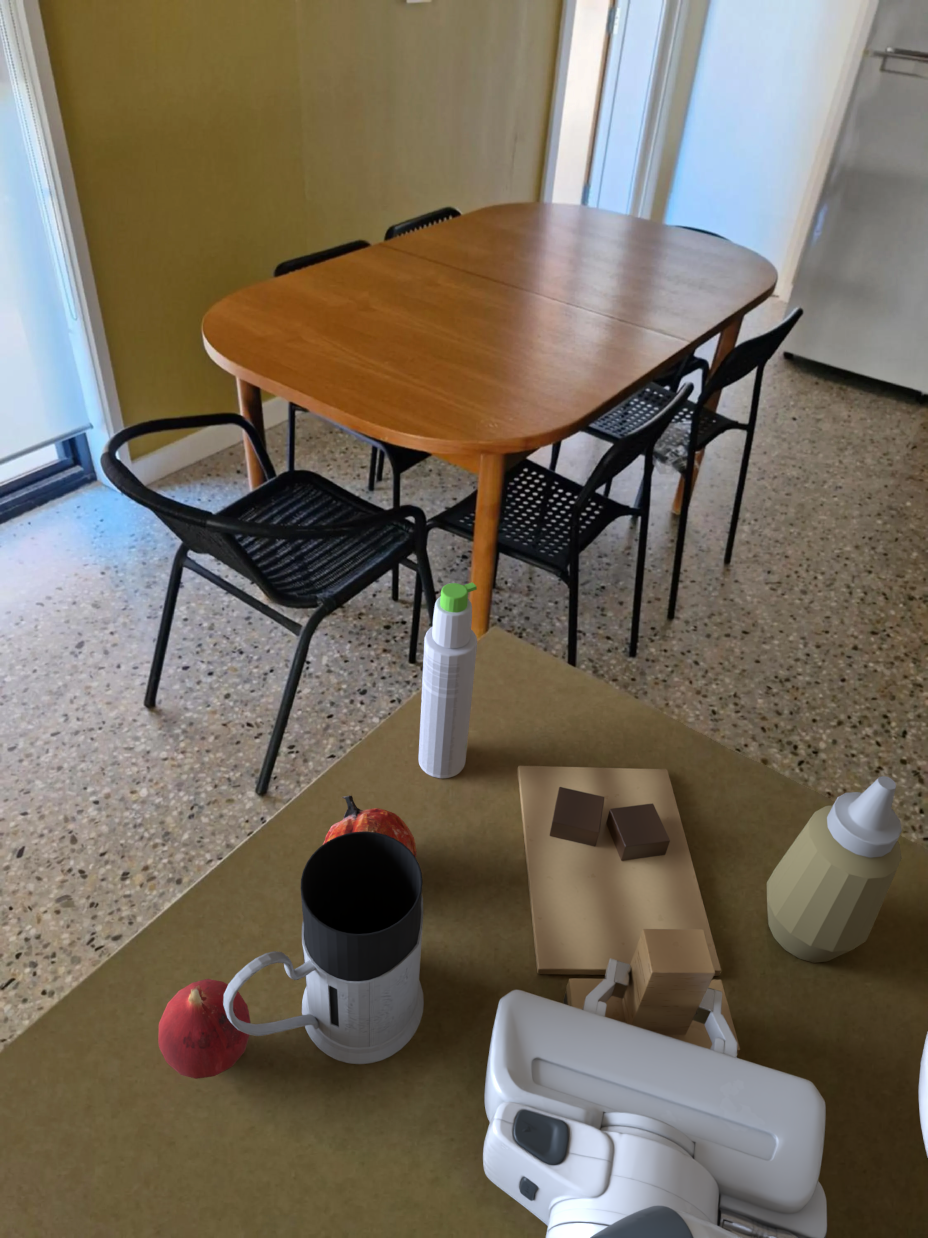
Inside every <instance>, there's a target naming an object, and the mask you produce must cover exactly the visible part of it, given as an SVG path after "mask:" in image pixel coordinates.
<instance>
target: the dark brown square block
mask: <svg viewBox="0 0 928 1238" xmlns="http://www.w3.org/2000/svg"><path fill="white" fill-rule="evenodd" d="M606 824H607V827H608V829H609V832H610V834H611V837H612V839H613V842H614V844H615V847H616V849H617V852H618V854H619V857H620V859H621V861H624V860H632V859H639V858H646V857H653V856H661V855H665V854H666V851H667V848H668V846H669V843H670V839H669V837H668V835H667V833H666V830H665V828H664V826H663V824H662V822H661V819H660V817H659V815H658V813H657V811H656V809H655V806H654V804H653V803H652V804H644V805H636V806H628V807H620V808H612V809H610V810H609V814H608V818H607V822H606Z"/></svg>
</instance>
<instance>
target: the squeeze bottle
mask: <svg viewBox="0 0 928 1238" xmlns="http://www.w3.org/2000/svg"><path fill="white" fill-rule="evenodd" d="M896 788H897V783H896V782H895V780H893V779H892V778H891V777H889V776H886V775H883V776H882V775H881V776H879V777H878V778H877V779H875V781H874V782H872V783H871V785H869V786H867V789H865V790H864V791H863V792H860V791H852V792H845V793H843V794H841V795H839V796H837V798H836V799H835V801H834V803H833V804H832V805H825V806H824V807H821V808H820V809H818V810H816V811H814V813H813V814H812V816H811V817H810V818H809V820H807V823H806V824H805V825H804V826H803V828H802V830H801V831H800V833H799V834H798V835H797V837H796V838H795V839H794V841H793V842H792V843H791V845H790V846H789V848H788V849H787V851H786V852H785V854H784V855H783V857H782V858H781V859H780V861H779V862H778V863H777V865H776V867H775V868H774V870H772V872H771V874H770V877H769V878H768V880H767V882H766V906H767V923H768V927H769V929H770V932H771V934H772V936H773V938H774V939H775V941H776V942H777V943H778V945H780V946H781V948H782V949H784V950H785V951H786V952H787V953H789V954H791V955H792V956H794V957H796V958H797V959H800V960H802V961H807V962H811V963H823V962H829V961H832V960H834V959H836V958H838V957H840V956H842V955H845V954H846V953H848V952H852V951H853V950H854V949H855V948H857V947H859V946H861V945H863V943H865V942H866V941H867V940H868V938H869V935H870V933H871V931H872V929H873V927H874V924H875V921H876V920H877V917H878V915H879V913H880V910H881V908H882V906H883V903H884V901H885V899H886V897H887V894H888V892H889V890H890V887H891V885H892V882H893V880H894V877H895V875H896V873H897V870H898V868H899V866H900V863H901V861H902V851H901V846H900V843H899V842H898V840H899V838H900V836H901V834H902V831H903V829H902V823H901V820H900V818H899V817H898V815H897V814H896V812H895V810H894V809H893V808H892V807H893V802H894V797H895V793H896Z"/></svg>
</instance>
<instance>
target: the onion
mask: <svg viewBox="0 0 928 1238" xmlns="http://www.w3.org/2000/svg"><path fill="white" fill-rule="evenodd" d="M228 984H229V983H226V982H225V981H221V980H216V979H211V978H204V979H201V980H198V981H197V980H196V981H193V982H191V983H190V984H188V985H186V986H185V987H183V988H181V989H180V990H178V991H177V992H176V993H175V994H174V995H173V996H172V998H171V999H170V1000H169V1001H168V1002H167V1004H166V1006H165V1008H164V1010H163V1013H162V1015H161V1018H160V1020H159V1022H158V1038H157V1039H158V1041H157V1043H158V1048H159V1051H160V1052H161V1054H162V1056H163V1058H164V1061H165V1062H166V1064H168V1065H169V1066H170V1067H171V1068H172V1069H173V1070H174V1071H175V1072H177V1073H178V1074H179V1075H180V1076H183V1077H188V1078H191V1079H196V1080H198V1079H205V1078H213V1077H216V1076H217V1075H219V1074H221V1073H223V1072H225V1071H227V1070H229V1069H230V1068H232V1067H233V1066H234V1065H235V1064H236V1062H237V1061H238V1060H239V1059H240V1058H241V1057H242V1055H243V1054H244V1053H245V1052H246V1048H247V1045H248V1042H249V1039H250V1035H249V1034H246V1033H244V1032H241V1031H239V1030H238V1029H237V1028H236V1027H235V1026H234V1025H233V1024H232V1023H231V1022H230V1021H229V1019H228V1018H227V1015H226V1011H225V1008H224V1005H223V1003H224V993H225V991H226V989H227V986H228ZM233 1012H234V1014H235V1016H236V1017H237V1018H238V1019H239V1020H241V1021H243V1022H246V1023H251V1024H252V1022H251V1017H250V1011H249V1007H248V1004H247V1003H246V1001H245V1000H244V998H243V997H242V995H241V993H240V992H239V990H238V991H237V994H236V996H235V998H234V1000H233Z"/></svg>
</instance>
